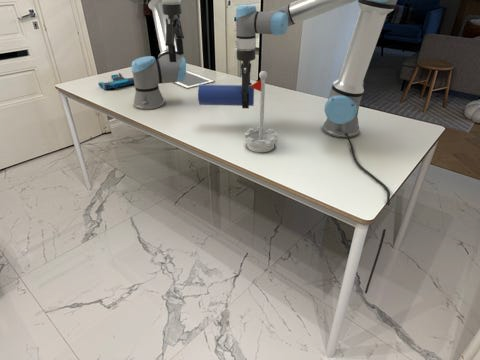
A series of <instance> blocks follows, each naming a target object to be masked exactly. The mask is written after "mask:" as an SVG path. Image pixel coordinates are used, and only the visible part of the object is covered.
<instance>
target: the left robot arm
mask: <svg viewBox="0 0 480 360" xmlns="http://www.w3.org/2000/svg"><path fill="white" fill-rule="evenodd" d="M128 1H129V2H132V3H134V4H139V5H147V7H148V8H149V10H151V12H152V18H153V21H154V26H155V32H156V38H157V41H158V48H159V51H160V53H159V54H158V56H157V59H156V58H155V56H152V55H150V56H149V55H146V56H140V57H138V58H135V59H134V60H133V61H132V62H131V63H130V64H131V73H132V78H134V83H133V84H132V85H134V88H135V93H134V100H133V105H134V108H136V109H138V110H155V109H159V108H161V107H163V106H164V105H165V99H164V97H163V94H162V92H161V90H160V86H159V84H160V85H161V84H170V83H171V84H172V83H173V82H180V81H184V80H185V78H186V71H187V61H186V58H185V56H182V55H184V53H185V51H184V42H183V39H185V35H184V32H183V26H182V22H181V14H182V13H183V11H182V4H181V2H182V0H128ZM175 37H176V38H175ZM118 76H119V77H121V78H123V79H124V78H125V77H123V76H122V74H121V73H120V72H118Z"/></svg>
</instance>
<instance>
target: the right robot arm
mask: <svg viewBox="0 0 480 360" xmlns="http://www.w3.org/2000/svg"><path fill="white" fill-rule="evenodd" d="M355 2H357V5H358V6H359V12H358V16H357V19H356V23H355V26H354V28H353V32H352V34H351V37H350V41H349V45H348V48H347V51H346V55H345V57H344V60H343V63H342V67H341V70H340V72H339V73H340V74H339V77H336V78H335V79H334V81H333V82H332V85H331V89H330V92H329V95H328V98H327V100H326V102H325V103H324V113H325V116H326V120H325V121H324V123H323V126H322V130H323V132H324V133H325V134H326V135H329V136H332V137H335V138H339V139H341V138H342V139H347V141H348V144H349V147H350V151H351V155H352V158H353V160H354V162H355V164H356V165H357V166H358V167H359V168H360V170H362V171H363V172H365V173H366V174H367V175H368V176H370V178H372V179H373V180H374V181H376V182H377V183H378V184H380V185H381V186H382V187H383V188H384V189H385V191H386V194H387V196H386V205H388V206H390V202H391V201H390V199H391V191H390V190H389V188H388V186H387V185H386V184H384V183H383V182H382V181H381V180H380V179H378V178H377V177H376V176H374V175H373V174H372V172H371V173H370V171H368V170H367V169H365V168H364V167H363V166H362V165H361V163H359V161H358V160H357V157H356V155H355V152H354V148H353V143H352V141H351V139H350V138H354V137H356V136H357V135H359V132H360V125H359V118H358V117H359V116H358V114H359V111H360V110H359V109H360V105H361V101H362V98H363V95H364V93H365V89H364V88H365V87H364V84H365V82H364V81H365V80H364V79H365V77H366V74H367V71H368V69H369V66H370V63H371V60H372V57H373V54H374V51H375V49H376V46H377V43H378V41H379V38H380V35H381V32H382V29H383V27H384V24H385V21H386V18H387V15H388V14H389V13H391V12H393V11H394V10H395V7H396V5H397V2H398V0H296V1H293V2H291V3H289V4H286V5H284V6H281V7H278V8H276V9H273V10H271V11H258V10H257V7H256V5H254V4H240V5H238V6H236V8H235V31H236V32H235V33H236V34H235V36H236V39H235V40H234V43H236V59H237V61H240V62H241V61H242V63H241V64H240V70H241V73H240V74H241V85H242V92H240V93H242V106H241V108H242V109H249V108H250V106H249V91H248V85H253V84H252V82H251V71H252V70H251V69H252V63H251V61H254V60H255V59H256V53H257V52H256V48H257V37H256V35H257V34H258V35H259V34H261V35H274V36H283V35H285V34H286V33H287V31H288V27H291V26H294V25H296V24H299V23H301V22H304V21H306V20H310V19H312V18H315V17H318V16H320V15H322V14H325V13H328V12H331V11H333V10H336V9H338V8H341V7H345V6H347V5H350V4H353V3H355ZM386 231H387V228H384V229H382V233H381V238H380V242H379V246H378V249H377V252H376V256H375V258H374V262H373V265H372V268H371V271H370V274H369V277H368V280H367V283H366V287H365V290H364V294H368V291H369V287H370V285H371V281H372V279H373V276H374V271H375V269H376V266H377V263H378V260H379V257H380V253H381V250H382V247H383V243H384V239H385V235H386Z"/></svg>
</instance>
